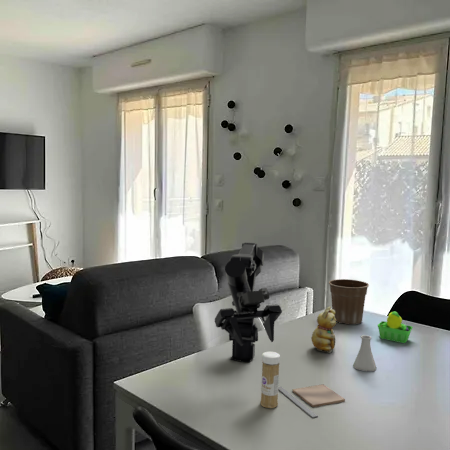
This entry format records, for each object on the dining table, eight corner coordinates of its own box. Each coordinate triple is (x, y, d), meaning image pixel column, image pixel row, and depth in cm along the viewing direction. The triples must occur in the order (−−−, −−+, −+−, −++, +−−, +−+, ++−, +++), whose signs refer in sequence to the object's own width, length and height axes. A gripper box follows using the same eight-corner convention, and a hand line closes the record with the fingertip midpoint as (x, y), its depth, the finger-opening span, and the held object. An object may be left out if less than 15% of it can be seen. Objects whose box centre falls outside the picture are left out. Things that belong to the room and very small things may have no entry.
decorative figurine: (333, 355, 160) (335, 311, 159) (308, 352, 163) (310, 309, 162) (336, 346, 169) (338, 305, 168) (313, 343, 172) (314, 302, 171)
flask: (377, 373, 146) (379, 341, 145) (353, 370, 148) (354, 339, 147) (375, 364, 153) (377, 334, 153) (351, 362, 155) (353, 332, 154)
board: (292, 391, 132) (292, 389, 132) (323, 386, 136) (323, 384, 136) (312, 407, 123) (312, 405, 123) (344, 401, 127) (345, 399, 127)
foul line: (276, 388, 134) (276, 387, 134) (281, 387, 134) (281, 386, 134) (312, 418, 117) (312, 416, 117) (317, 417, 118) (317, 415, 118)
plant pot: (345, 328, 192) (346, 288, 190) (319, 317, 206) (320, 280, 204) (375, 323, 199) (377, 285, 198) (348, 313, 213) (350, 278, 212)
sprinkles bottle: (256, 405, 123) (258, 354, 122) (267, 399, 127) (268, 349, 126) (271, 410, 120) (273, 358, 119) (281, 404, 124) (283, 354, 123)
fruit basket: (412, 339, 180) (414, 309, 179) (407, 346, 172) (409, 315, 171) (381, 333, 186) (383, 305, 185) (375, 339, 178) (376, 309, 177)
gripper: (219, 280, 130) (235, 332, 120) (280, 276, 137) (299, 325, 128) (208, 301, 137) (222, 352, 128) (266, 297, 145) (283, 344, 136)
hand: (257, 343), depth 130 cm, fingers open, 9 cm apart
